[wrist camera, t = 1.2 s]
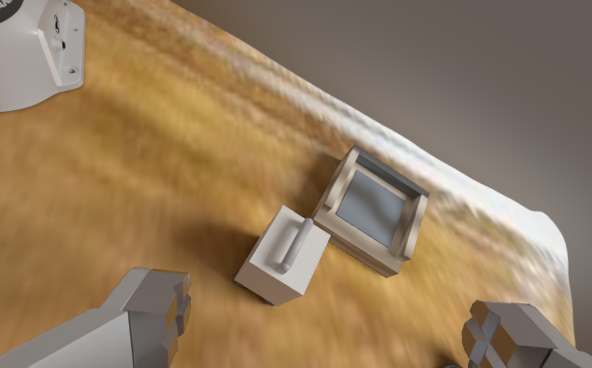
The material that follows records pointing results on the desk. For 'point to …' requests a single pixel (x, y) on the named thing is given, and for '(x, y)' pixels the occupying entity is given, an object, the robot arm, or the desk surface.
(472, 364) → the pocket watch
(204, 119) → the desk surface
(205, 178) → the desk surface
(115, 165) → the desk surface
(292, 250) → the trolley
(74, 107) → the desk surface
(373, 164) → the dock
